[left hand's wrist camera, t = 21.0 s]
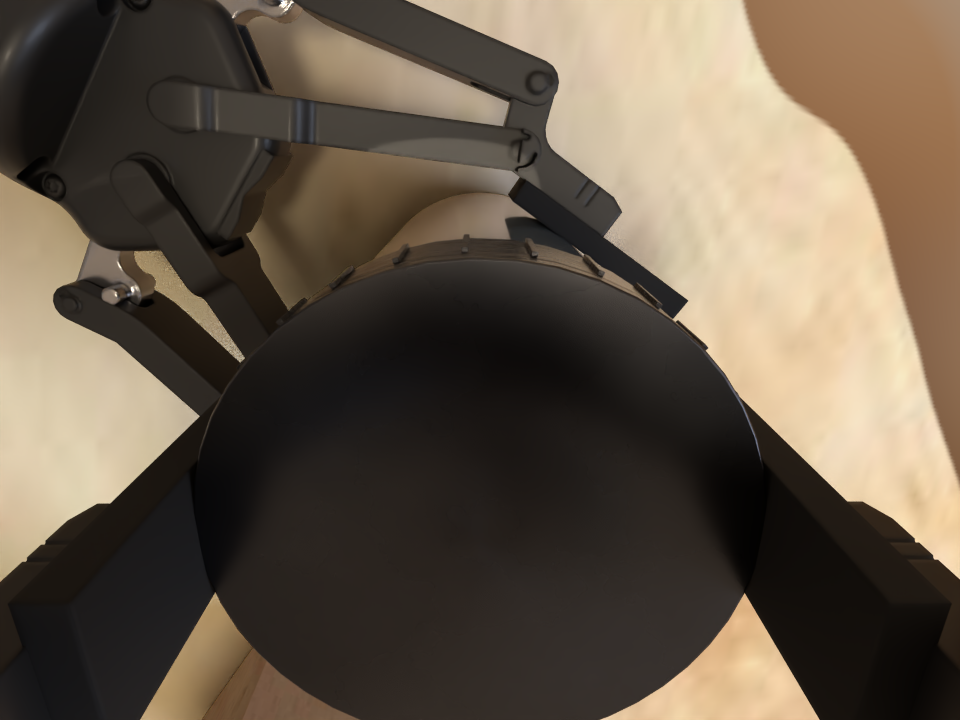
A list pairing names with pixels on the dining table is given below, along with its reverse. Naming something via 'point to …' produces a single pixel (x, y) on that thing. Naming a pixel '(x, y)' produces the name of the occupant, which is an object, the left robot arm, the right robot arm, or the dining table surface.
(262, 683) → the wooden block
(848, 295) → the dining table surface
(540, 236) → the jar
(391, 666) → the lid
